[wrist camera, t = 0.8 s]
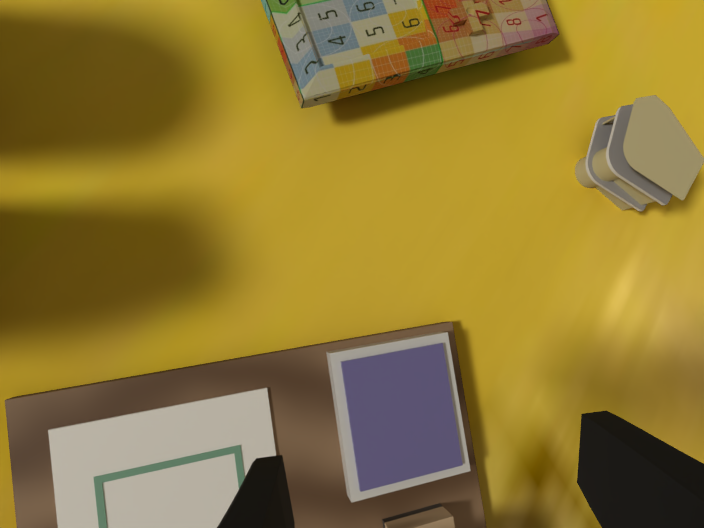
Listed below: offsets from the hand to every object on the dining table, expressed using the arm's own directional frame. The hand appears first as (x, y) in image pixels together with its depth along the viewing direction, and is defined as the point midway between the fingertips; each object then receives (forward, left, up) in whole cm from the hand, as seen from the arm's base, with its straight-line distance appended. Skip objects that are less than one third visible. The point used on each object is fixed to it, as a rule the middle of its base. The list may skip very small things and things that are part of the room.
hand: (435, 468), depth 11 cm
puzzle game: (+25, -10, -20) cm, 33 cm away
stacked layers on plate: (+11, -26, -20) cm, 35 cm away
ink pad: (-3, -5, -19) cm, 20 cm away
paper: (-7, +9, -19) cm, 22 cm away
